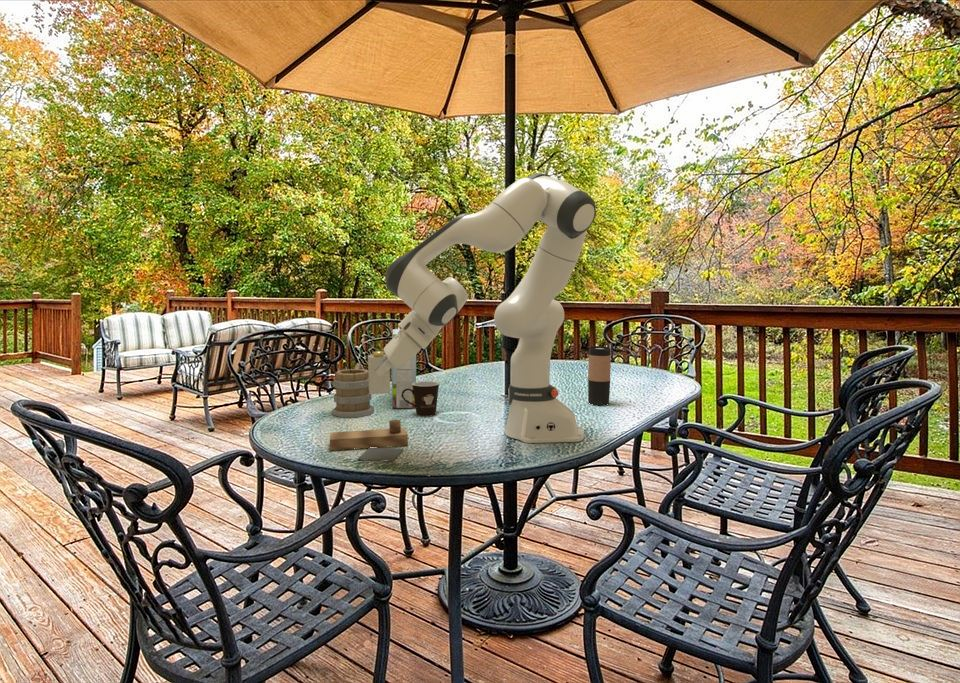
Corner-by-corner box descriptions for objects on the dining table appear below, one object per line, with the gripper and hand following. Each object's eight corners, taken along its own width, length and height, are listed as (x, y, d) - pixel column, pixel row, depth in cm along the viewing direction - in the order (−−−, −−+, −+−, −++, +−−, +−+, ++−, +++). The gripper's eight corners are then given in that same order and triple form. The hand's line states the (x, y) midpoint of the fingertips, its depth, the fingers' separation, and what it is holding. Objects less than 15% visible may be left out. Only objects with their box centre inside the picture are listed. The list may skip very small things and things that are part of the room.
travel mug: (587, 401, 202) (588, 346, 199) (608, 401, 201) (610, 346, 198) (588, 405, 194) (589, 348, 192) (610, 406, 193) (612, 349, 191)
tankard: (368, 417, 178) (367, 371, 177) (328, 417, 179) (327, 371, 177) (380, 403, 198) (379, 362, 196) (345, 403, 198) (343, 362, 197)
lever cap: (388, 389, 142) (388, 350, 141) (390, 393, 137) (389, 352, 136) (368, 390, 141) (367, 350, 140) (369, 394, 136) (368, 353, 135)
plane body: (405, 438, 155) (404, 417, 155) (407, 445, 149) (407, 423, 148) (330, 443, 151) (330, 421, 150) (330, 451, 144) (329, 428, 143)
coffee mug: (441, 410, 187) (441, 381, 186) (436, 417, 179) (436, 386, 178) (407, 410, 188) (406, 380, 187) (401, 416, 180) (400, 385, 179)
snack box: (418, 408, 191) (417, 333, 188) (392, 409, 189) (390, 334, 186) (415, 395, 212) (413, 328, 209) (391, 396, 211) (390, 328, 208)
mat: (403, 450, 145) (403, 448, 145) (393, 461, 136) (393, 460, 136) (369, 449, 146) (369, 447, 146) (357, 460, 137) (357, 458, 137)
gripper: (402, 320, 149) (366, 358, 148) (410, 326, 129) (368, 370, 128) (419, 336, 150) (383, 373, 149) (430, 345, 130) (388, 388, 129)
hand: (376, 372), depth 138 cm, fingers closed on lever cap, 5 cm apart
